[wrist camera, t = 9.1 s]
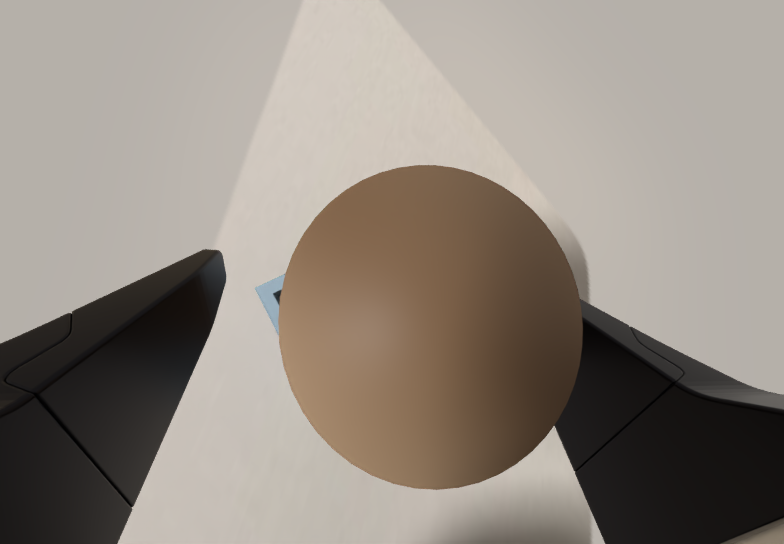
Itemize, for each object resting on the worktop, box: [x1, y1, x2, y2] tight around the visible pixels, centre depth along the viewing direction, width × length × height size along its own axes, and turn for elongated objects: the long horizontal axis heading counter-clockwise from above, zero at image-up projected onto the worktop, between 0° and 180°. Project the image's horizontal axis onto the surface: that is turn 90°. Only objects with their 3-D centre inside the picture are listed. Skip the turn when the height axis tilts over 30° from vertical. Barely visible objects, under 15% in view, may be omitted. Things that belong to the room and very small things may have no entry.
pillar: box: [278, 165, 583, 490], centre depth 10 cm, size 4×4×13 cm
